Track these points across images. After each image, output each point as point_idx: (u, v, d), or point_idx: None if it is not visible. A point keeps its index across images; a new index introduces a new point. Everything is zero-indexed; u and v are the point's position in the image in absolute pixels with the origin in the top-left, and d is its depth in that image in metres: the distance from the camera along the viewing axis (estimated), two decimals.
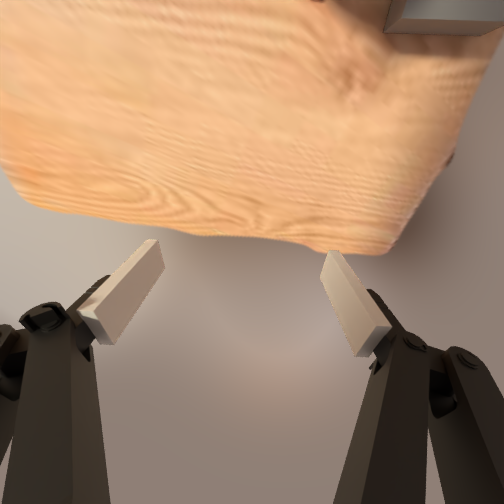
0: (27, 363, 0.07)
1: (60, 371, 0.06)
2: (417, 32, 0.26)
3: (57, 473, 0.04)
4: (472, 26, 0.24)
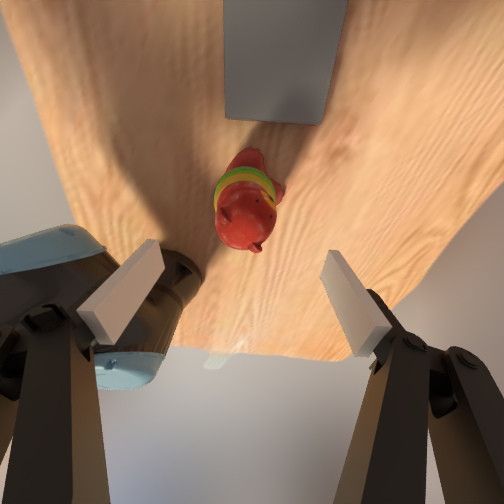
0: (27, 363, 0.07)
1: (60, 371, 0.06)
2: None
3: (57, 473, 0.04)
4: None
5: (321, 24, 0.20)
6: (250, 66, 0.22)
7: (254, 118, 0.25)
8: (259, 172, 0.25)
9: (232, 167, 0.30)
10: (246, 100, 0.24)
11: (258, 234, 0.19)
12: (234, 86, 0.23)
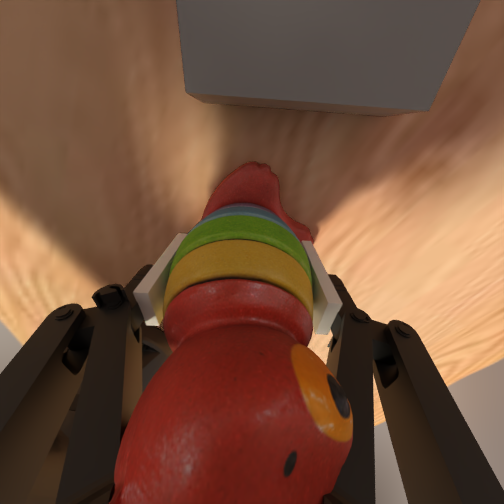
0: (94, 335, 0.08)
1: (117, 348, 0.07)
2: None
3: (107, 445, 0.05)
4: None
5: None
6: None
7: (260, 95, 0.10)
8: (276, 230, 0.10)
9: (217, 201, 0.15)
10: (238, 44, 0.09)
11: None
12: None
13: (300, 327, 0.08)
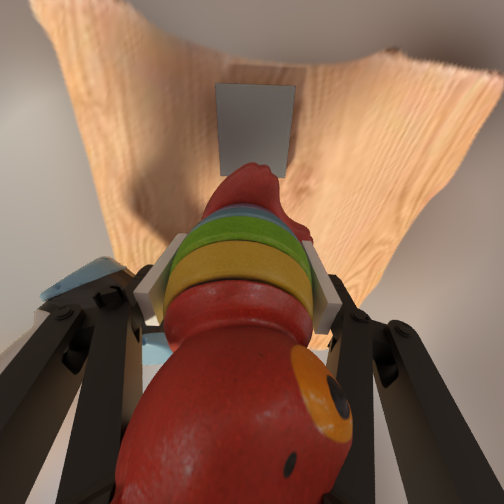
0: (94, 335, 0.08)
1: (117, 348, 0.07)
2: None
3: (107, 445, 0.05)
4: None
5: (278, 124, 0.32)
6: (235, 147, 0.34)
7: None
8: (276, 231, 0.10)
9: (217, 202, 0.15)
10: (233, 166, 0.36)
11: None
12: (225, 158, 0.35)
13: (300, 328, 0.08)
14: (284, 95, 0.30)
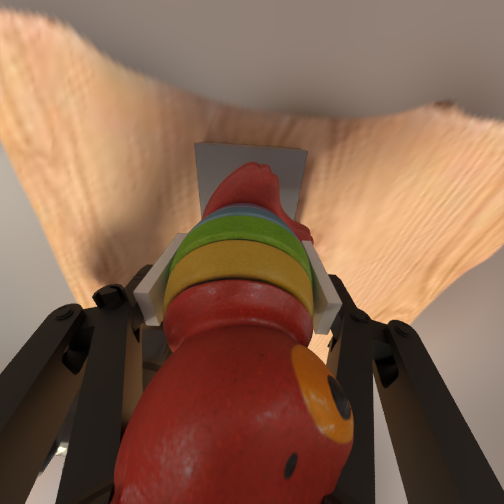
0: (94, 335, 0.08)
1: (118, 349, 0.07)
2: None
3: (107, 445, 0.05)
4: None
5: (281, 195, 0.24)
6: None
7: None
8: (276, 230, 0.10)
9: (217, 201, 0.15)
10: None
11: None
12: None
13: (300, 328, 0.08)
14: (290, 162, 0.22)
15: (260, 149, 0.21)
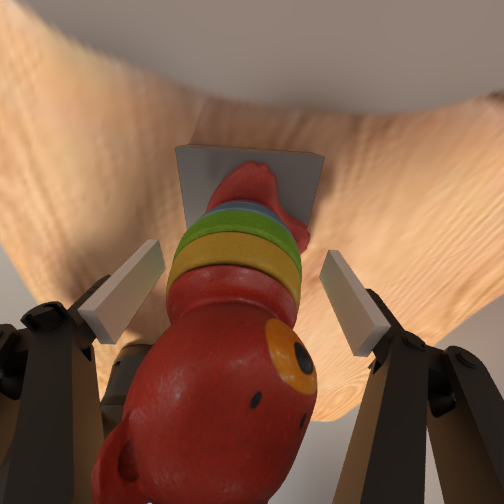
0: (28, 362, 0.07)
1: (62, 370, 0.06)
2: None
3: (58, 472, 0.05)
4: None
5: (288, 211, 0.19)
6: None
7: None
8: (268, 224, 0.11)
9: (218, 198, 0.16)
10: None
11: None
12: None
13: (283, 309, 0.09)
14: (301, 171, 0.17)
15: (262, 154, 0.16)
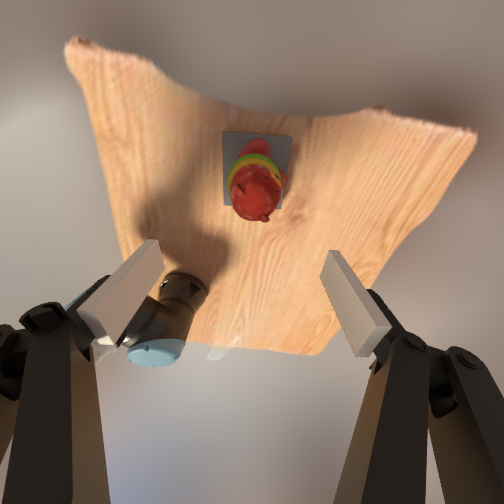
0: (27, 363, 0.07)
1: (60, 371, 0.06)
2: None
3: (57, 473, 0.04)
4: None
5: None
6: None
7: None
8: (266, 158, 0.29)
9: (242, 155, 0.34)
10: None
11: (266, 205, 0.24)
12: None
13: None
14: (281, 144, 0.35)
15: (262, 135, 0.34)
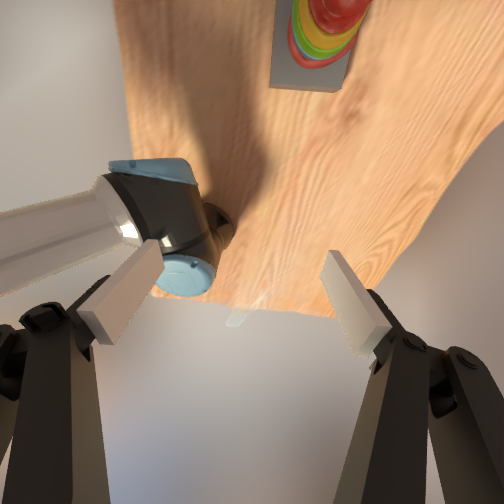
0: (27, 363, 0.07)
1: (60, 371, 0.06)
2: None
3: (57, 473, 0.04)
4: None
5: None
6: None
7: (291, 84, 0.33)
8: None
9: None
10: (286, 70, 0.32)
11: None
12: (279, 59, 0.32)
13: None
14: None
15: None
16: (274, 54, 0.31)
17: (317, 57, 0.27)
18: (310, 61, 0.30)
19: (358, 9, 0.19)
